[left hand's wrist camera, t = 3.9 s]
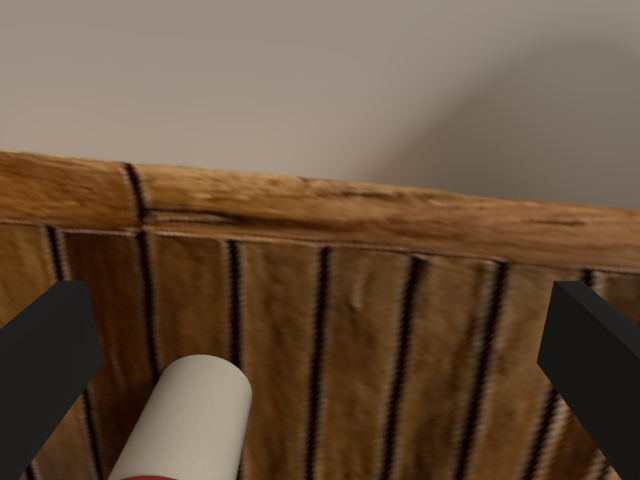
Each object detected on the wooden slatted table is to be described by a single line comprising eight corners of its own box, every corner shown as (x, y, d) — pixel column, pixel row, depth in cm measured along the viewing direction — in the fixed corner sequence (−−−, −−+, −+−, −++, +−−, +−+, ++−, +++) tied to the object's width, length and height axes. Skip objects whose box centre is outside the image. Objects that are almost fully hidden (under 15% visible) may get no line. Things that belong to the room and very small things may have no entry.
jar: (193, 337, 46) (127, 481, 30) (271, 390, 48) (247, 550, 32) (138, 397, 49) (51, 558, 33) (215, 444, 51) (167, 616, 35)
